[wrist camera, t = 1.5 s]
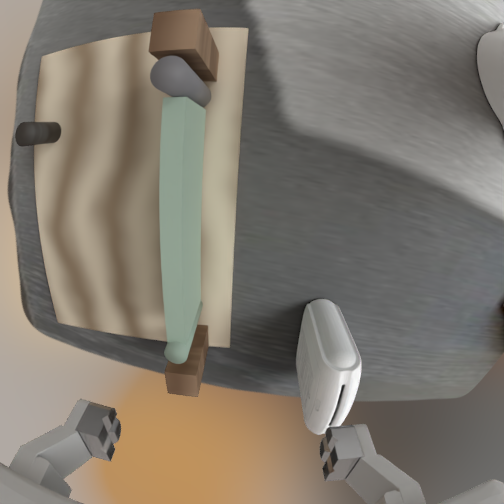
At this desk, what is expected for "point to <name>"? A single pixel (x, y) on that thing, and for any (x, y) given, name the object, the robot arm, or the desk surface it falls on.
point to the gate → (180, 199)
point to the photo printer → (326, 366)
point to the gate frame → (134, 181)
